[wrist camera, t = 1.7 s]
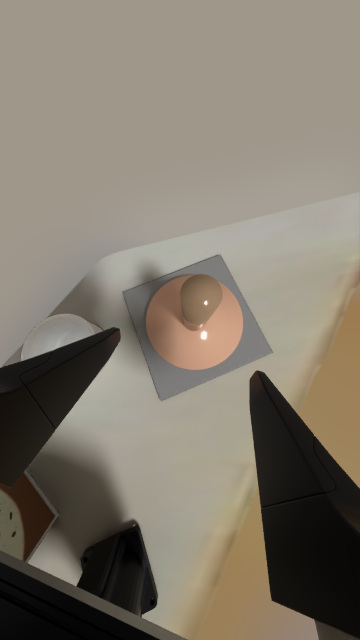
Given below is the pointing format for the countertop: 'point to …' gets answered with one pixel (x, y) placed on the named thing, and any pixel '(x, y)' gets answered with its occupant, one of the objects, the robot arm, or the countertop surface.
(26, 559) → the food container
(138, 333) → the mat
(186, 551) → the countertop surface
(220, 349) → the lid
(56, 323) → the ramekin
